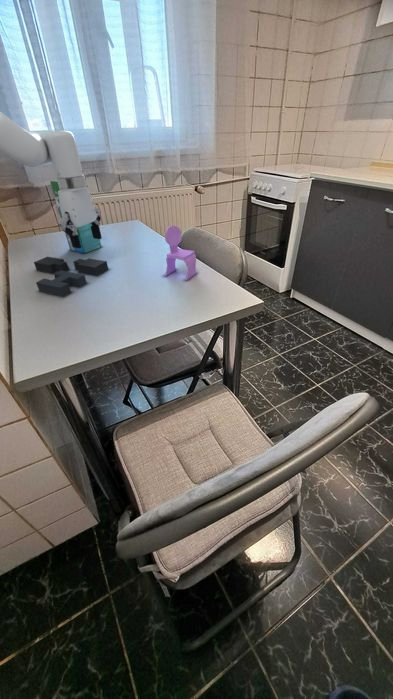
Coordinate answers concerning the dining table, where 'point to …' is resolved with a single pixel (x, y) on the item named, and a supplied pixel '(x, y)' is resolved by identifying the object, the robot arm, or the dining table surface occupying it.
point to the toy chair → (178, 252)
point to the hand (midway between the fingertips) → (87, 242)
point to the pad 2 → (91, 266)
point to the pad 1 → (51, 265)
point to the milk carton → (78, 229)
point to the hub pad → (61, 283)
